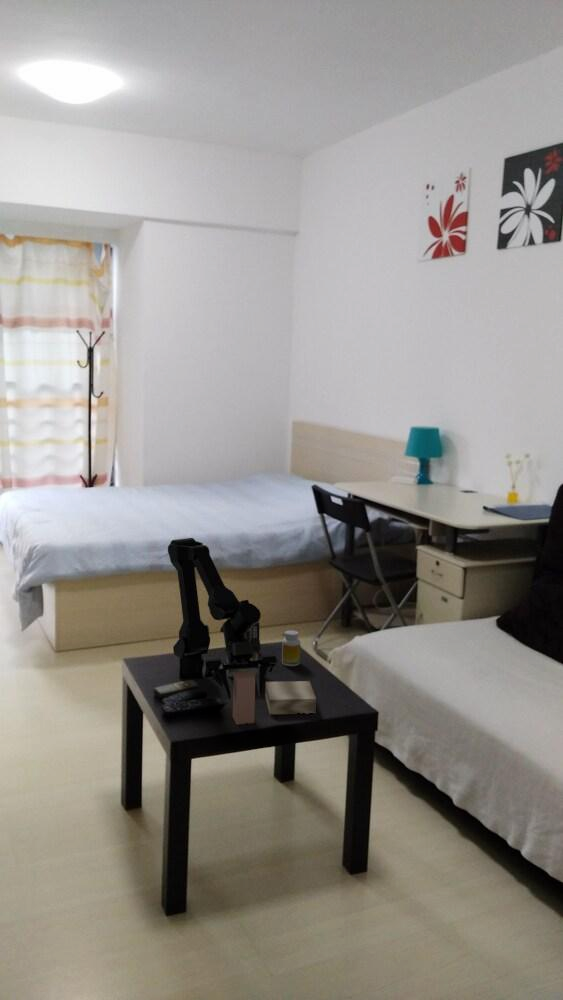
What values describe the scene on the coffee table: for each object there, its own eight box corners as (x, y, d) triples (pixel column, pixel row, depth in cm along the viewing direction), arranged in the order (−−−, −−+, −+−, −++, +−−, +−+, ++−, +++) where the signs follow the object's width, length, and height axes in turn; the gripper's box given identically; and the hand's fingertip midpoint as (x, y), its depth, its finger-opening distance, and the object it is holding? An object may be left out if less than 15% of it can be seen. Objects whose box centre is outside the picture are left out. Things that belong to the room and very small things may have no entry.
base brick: (269, 714, 223) (270, 699, 222) (265, 695, 234) (265, 681, 234) (315, 713, 224) (316, 698, 223) (308, 695, 236) (309, 681, 235)
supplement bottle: (301, 666, 257) (302, 635, 255) (283, 667, 256) (284, 635, 254) (297, 659, 262) (298, 629, 261) (280, 660, 261) (281, 629, 259)
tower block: (236, 724, 216) (237, 679, 214) (232, 717, 220) (233, 672, 218) (254, 722, 218) (255, 677, 215) (249, 715, 222) (250, 671, 220)
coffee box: (257, 668, 254) (258, 616, 251) (259, 676, 248) (260, 623, 245) (225, 669, 253) (226, 616, 250) (227, 677, 247) (228, 623, 244)
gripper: (205, 629, 216) (213, 687, 207) (277, 624, 221) (288, 681, 213) (198, 648, 225) (206, 705, 216) (267, 643, 230) (278, 699, 222)
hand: (245, 697), depth 217 cm, fingers open, 8 cm apart
